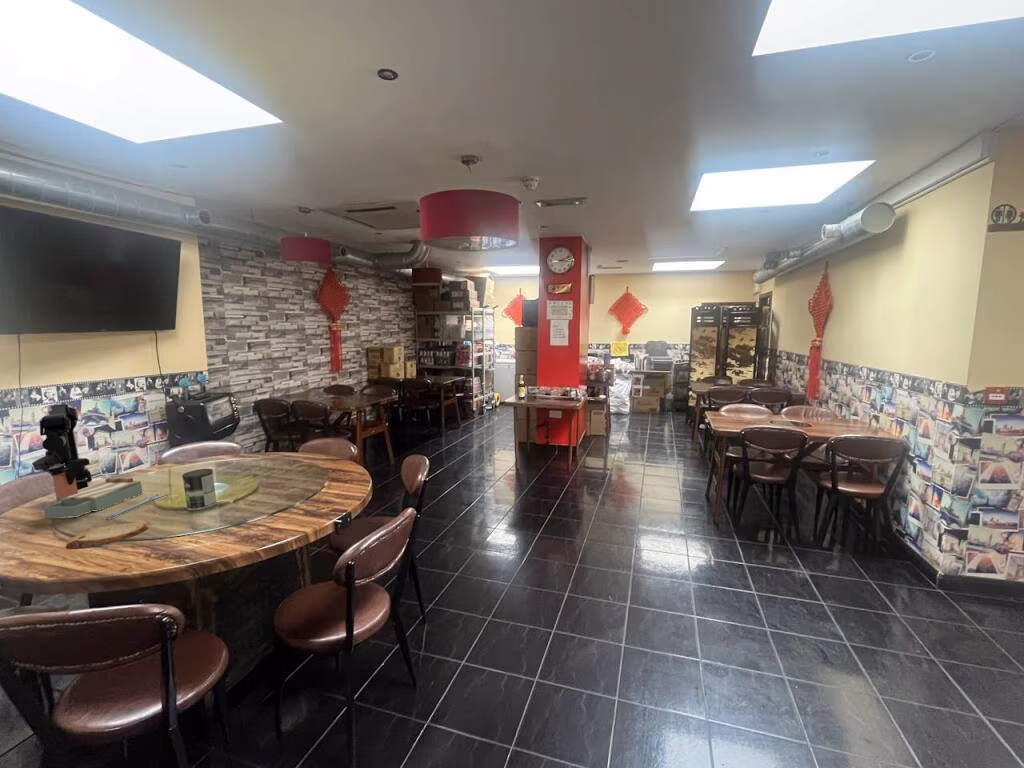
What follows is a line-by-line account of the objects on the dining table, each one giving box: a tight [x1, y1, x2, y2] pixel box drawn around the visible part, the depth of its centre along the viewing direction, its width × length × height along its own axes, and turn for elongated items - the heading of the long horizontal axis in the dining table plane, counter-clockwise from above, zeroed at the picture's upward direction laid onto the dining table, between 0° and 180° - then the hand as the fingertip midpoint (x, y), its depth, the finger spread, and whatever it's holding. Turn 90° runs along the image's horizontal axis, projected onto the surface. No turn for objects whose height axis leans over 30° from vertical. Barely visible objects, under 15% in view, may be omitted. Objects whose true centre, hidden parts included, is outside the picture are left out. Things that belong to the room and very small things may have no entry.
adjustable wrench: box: [105, 492, 168, 518], centre depth 185 cm, size 25×6×2 cm, turn 170°
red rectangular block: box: [52, 473, 78, 498], centre depth 178 cm, size 4×4×9 cm
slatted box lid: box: [55, 477, 142, 501], centre depth 191 cm, size 18×20×3 cm
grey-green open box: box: [43, 482, 143, 519], centre depth 189 cm, size 18×26×5 cm
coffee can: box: [181, 468, 218, 511], centre depth 181 cm, size 10×10×14 cm
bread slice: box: [65, 521, 149, 549], centre depth 156 cm, size 18×18×4 cm
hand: (65, 484), depth 178 cm, fingers closed on red rectangular block, 4 cm apart
